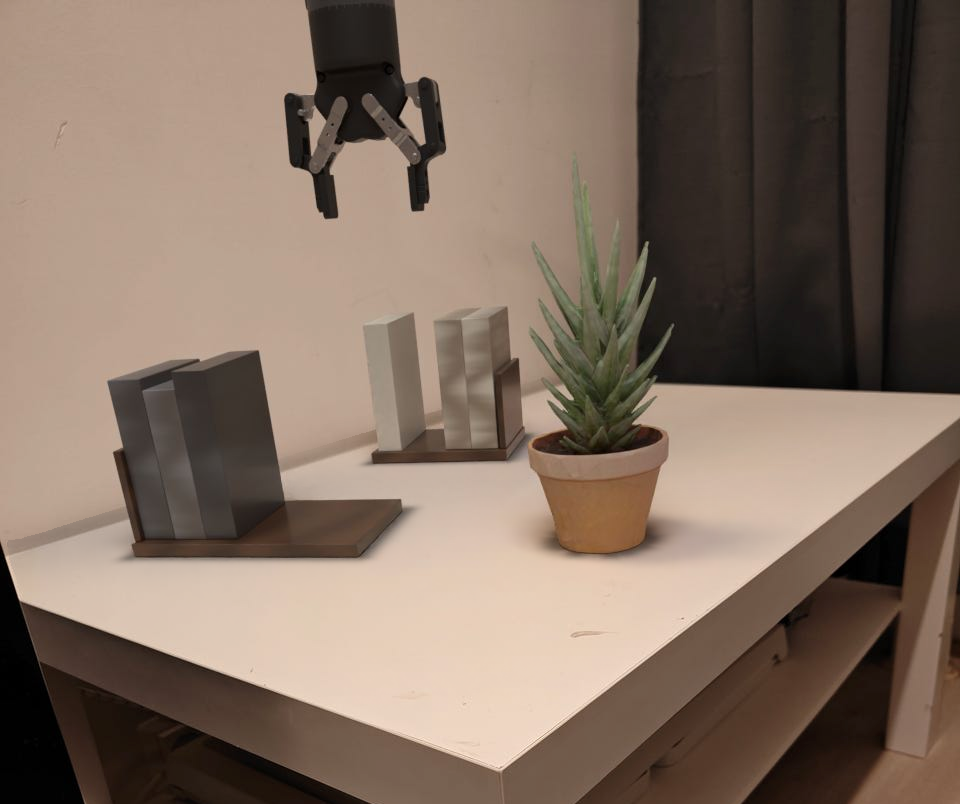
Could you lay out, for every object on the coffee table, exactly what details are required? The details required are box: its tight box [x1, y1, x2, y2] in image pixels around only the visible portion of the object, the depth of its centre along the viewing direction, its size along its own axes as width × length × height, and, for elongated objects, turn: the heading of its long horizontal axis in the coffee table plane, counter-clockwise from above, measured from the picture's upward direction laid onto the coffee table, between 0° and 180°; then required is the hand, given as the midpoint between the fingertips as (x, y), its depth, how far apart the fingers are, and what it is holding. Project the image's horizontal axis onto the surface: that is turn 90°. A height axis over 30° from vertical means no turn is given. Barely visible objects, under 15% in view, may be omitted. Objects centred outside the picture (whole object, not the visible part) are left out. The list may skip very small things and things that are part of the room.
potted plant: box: [527, 151, 675, 554], centre depth 61 cm, size 10×10×25 cm
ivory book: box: [362, 311, 427, 452], centre depth 93 cm, size 2×9×12 cm, turn 168°
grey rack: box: [106, 349, 403, 558], centre depth 71 cm, size 18×11×13 cm, turn 77°
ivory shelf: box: [371, 305, 526, 464], centre depth 92 cm, size 14×10×13 cm
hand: (374, 215), depth 87 cm, fingers open, 8 cm apart
